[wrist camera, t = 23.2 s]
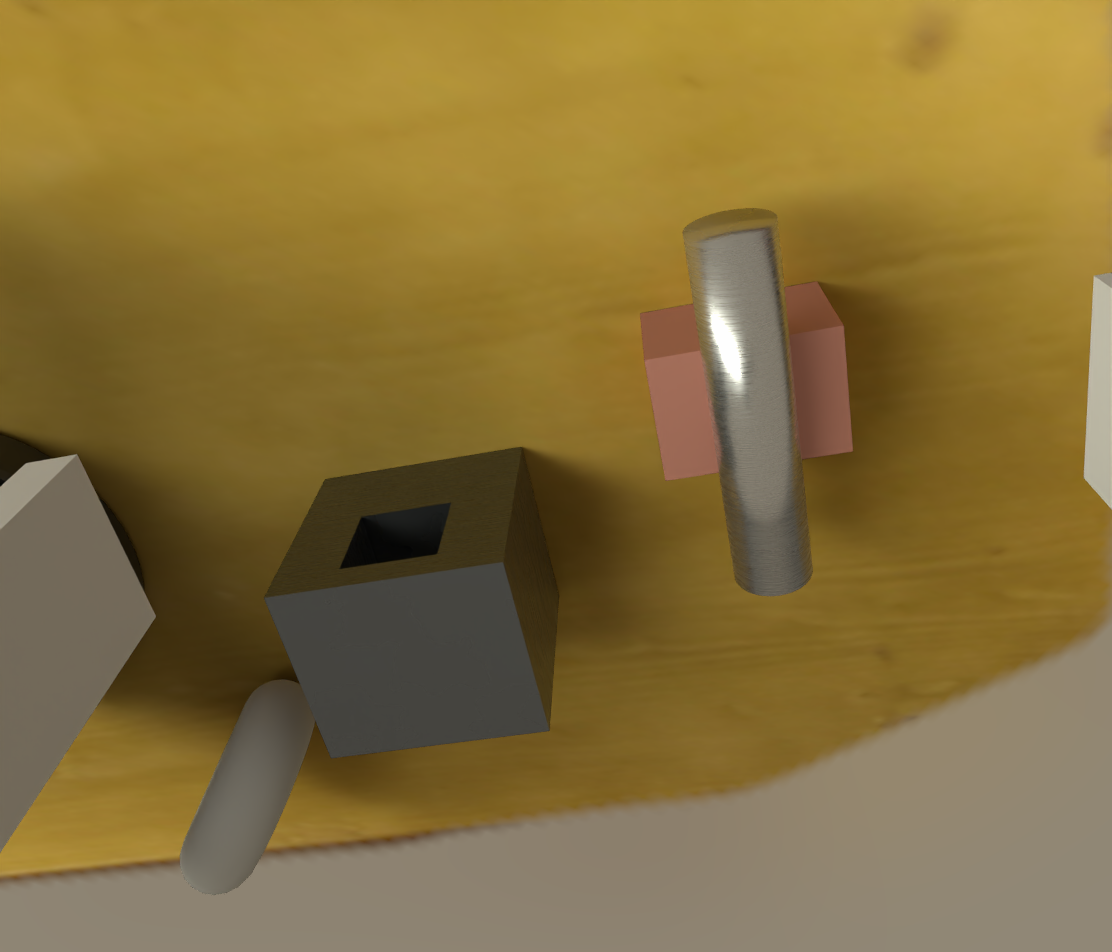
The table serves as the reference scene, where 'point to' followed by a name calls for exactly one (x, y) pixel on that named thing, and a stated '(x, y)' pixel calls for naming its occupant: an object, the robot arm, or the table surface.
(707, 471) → the v block
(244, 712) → the donut
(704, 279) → the axle
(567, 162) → the table surface
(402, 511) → the block with square hole
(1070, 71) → the table surface
